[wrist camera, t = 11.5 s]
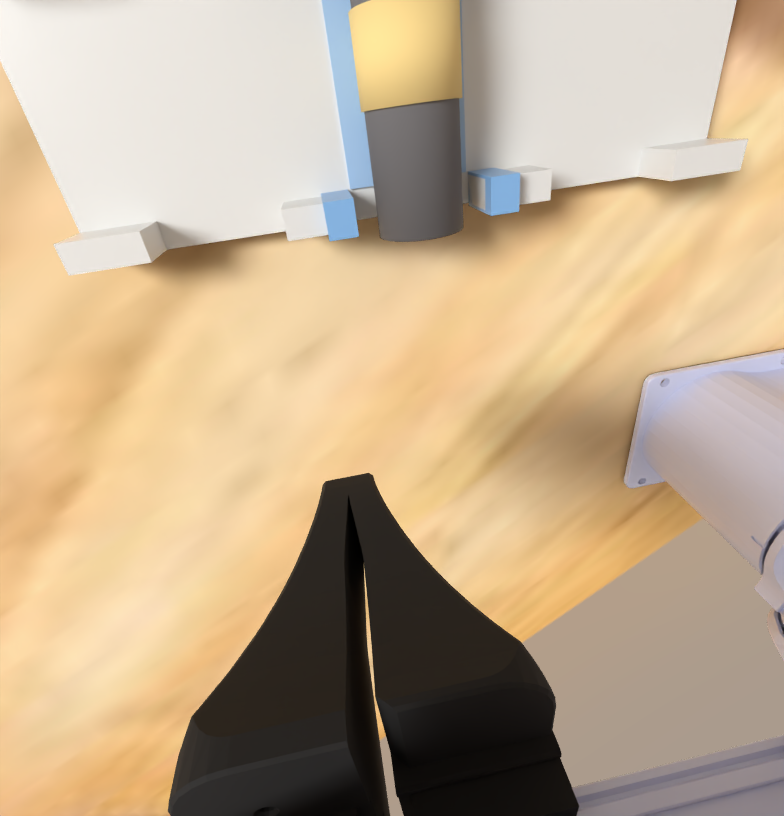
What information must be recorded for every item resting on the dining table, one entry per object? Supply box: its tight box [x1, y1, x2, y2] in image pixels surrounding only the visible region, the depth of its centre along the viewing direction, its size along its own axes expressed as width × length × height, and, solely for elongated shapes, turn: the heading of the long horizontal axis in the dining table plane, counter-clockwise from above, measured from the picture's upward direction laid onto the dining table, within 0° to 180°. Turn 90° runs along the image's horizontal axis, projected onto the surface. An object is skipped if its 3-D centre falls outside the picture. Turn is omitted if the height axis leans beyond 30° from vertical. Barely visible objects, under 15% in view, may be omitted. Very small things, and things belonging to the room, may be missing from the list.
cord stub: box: [348, 0, 463, 242], centre depth 14 cm, size 10×3×3 cm, turn 7°
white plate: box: [0, 0, 748, 275], centre depth 15 cm, size 24×9×4 cm, turn 97°
